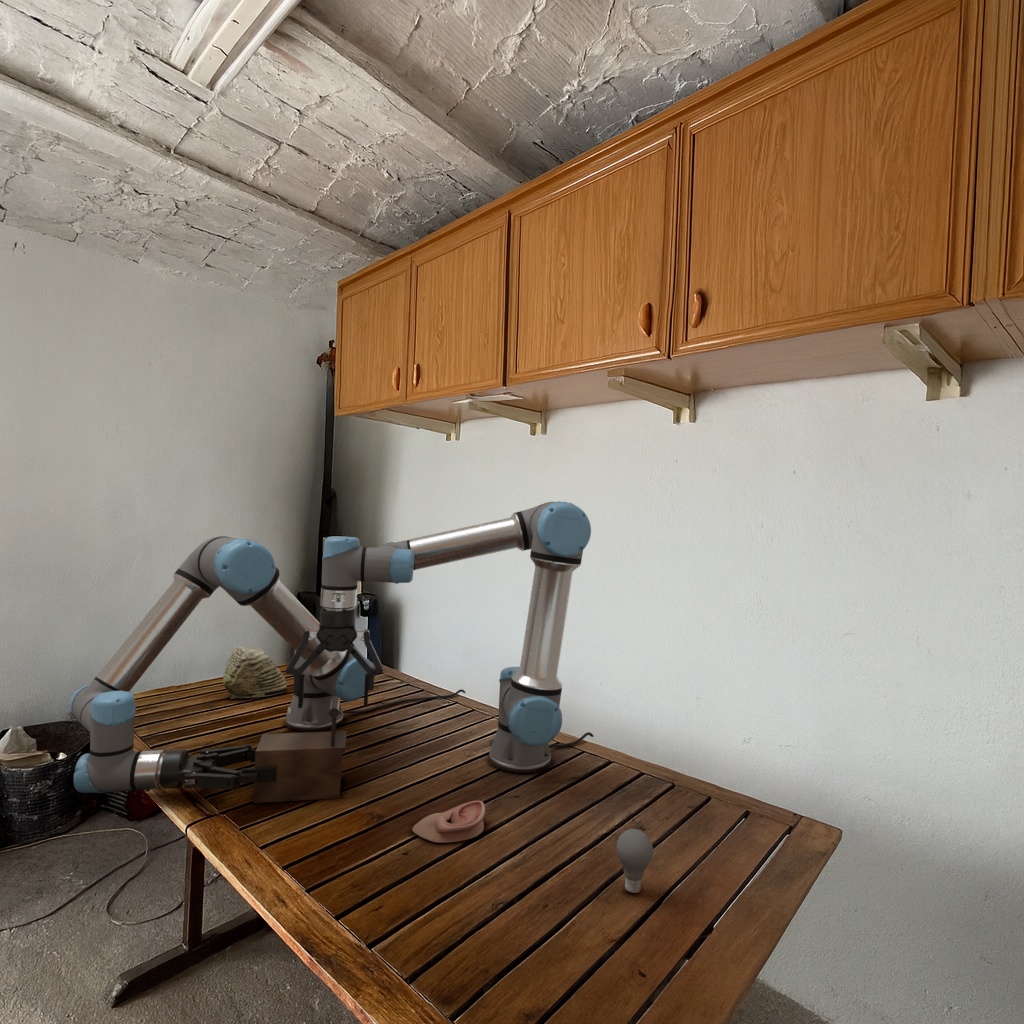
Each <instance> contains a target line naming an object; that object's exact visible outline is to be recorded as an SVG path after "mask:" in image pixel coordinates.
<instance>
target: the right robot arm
mask: <svg viewBox="0 0 1024 1024" xmlns="http://www.w3.org/2000/svg"><path fill="white" fill-rule="evenodd" d="M591 535H592V526H591V521H590V519H589V518H588V515H587V514H586V512H584V510H583V509H581V508H580V507H579V506H578V505H576V504H574V503H572V502H567V501H560V500H559V501H547V502H544V503H540V504H539V505H536V506H533V507H531V508H528V509H524V510H520V511H515V512H513V513H512V515H511V516H510V517H507V518H502V519H498V520H493V521H488V522H483V523H480V524H479V523H478V524H475V525H469V526H465V527H461V528H456V529H452V530H451V529H450V530H446V531H442V532H437V533H433V534H428V535H423V536H419V537H414V538H410V539H405V540H400V541H396V542H394V541H390V542H387V543H383V544H382V545H381V546H378V547H367V546H361V543H360V539H359V538H358V537H354V536H343V535H341V536H339V535H337V536H336V535H335V536H328V537H327V538H325V540H324V542H323V553H322V558H321V560H322V561H321V562H322V563H321V588H320V604H319V605H320V607H322V608H321V609H320V610H319V630H318V631H310V629H306V630H305V631H304V634H303V640H302V642H301V644H300V646H299V647H298V649H297V651H296V653H295V652H294V653H293V656H292V658H291V659H290V661H289V663H288V665H287V667H286V669H285V674H286V675H290V676H292V677H293V693H294V692H295V691H299V700H298V708H302V706H303V695H304V675H305V674H302V673H303V672H304V671H305V670H306V668H307V667H308V666H309V665H310V664H311V663H312V662H313V661H314V660H315V659H316V658H317V657H318V656H319V655H320V654H321V653H322V652H323V651H324V650H327V651H329V652H333V651H339V652H343V651H345V650H348V651H349V652H350V653H351V654H352V655H353V656H354V658H355V659H356V660H357V661H358V662H359V664H360V665H361V666H362V667H363V668H364V670H365V671H366V672H367V673H368V674H365V690H364V695H363V708H367V707H368V705H369V704H368V700H369V691H373V690H374V689H375V686H374V685H375V676H376V675H378V674H383V672H384V666H383V664H382V662H381V660H380V658H379V656H378V654H377V651H376V650H375V647H374V645H373V642H372V640H371V636H370V630H369V629H368V628H365V629H364V630H359V631H357V630H356V621H357V620H356V618H357V610H356V609H355V608H356V606H357V599H358V598H357V597H358V582H363V583H364V582H368V583H369V582H370V583H371V582H372V583H389V584H396V585H398V584H409V583H411V582H412V581H413V579H414V571H417V570H421V569H426V568H431V567H435V566H441V565H444V564H449V563H454V562H458V561H463V560H467V559H473V558H477V557H482V556H486V555H491V554H496V553H499V552H500V553H501V552H505V551H510V550H513V549H517V550H519V551H521V552H524V551H530V554H529V558H530V560H531V561H532V563H533V565H534V572H533V579H532V585H531V592H530V599H529V605H528V611H527V612H528V613H527V618H526V623H525V625H526V626H525V632H524V638H523V644H522V650H521V651H522V652H521V656H520V657H521V658H520V663H519V666H507V667H504V668H502V669H501V670H500V674H499V675H500V676H499V679H498V682H499V696H498V714H497V715H498V718H497V730H496V732H495V735H494V738H493V739H489V740H488V747H490V748H489V751H488V752H489V753H488V761H489V763H490V764H491V765H492V766H493V767H495V768H496V769H498V770H501V771H503V772H509V773H514V774H531V773H538V772H541V771H544V770H546V769H547V768H549V766H550V765H551V763H552V754H551V749H550V748H566V747H571V746H574V745H577V744H579V743H580V742H582V741H583V740H585V738H586V737H587V736H590V737H591V738H594V736H595V735H594V734H593V733H592V732H589V731H587V732H585V733H583V734H582V736H580V737H579V738H578V739H577V740H574V741H571V742H566V743H558V744H556V743H555V744H549V743H550V742H552V741H553V740H555V739H556V738H557V736H558V735H559V733H560V732H561V730H562V726H563V714H562V709H561V707H560V704H561V698H562V692H563V682H562V681H561V680H560V678H559V676H558V673H559V666H560V660H561V653H562V647H563V640H564V633H565V626H566V620H567V615H568V607H569V599H570V593H571V587H572V580H573V575H574V572H575V571H576V570H577V569H578V568H580V567H581V566H582V559H583V553H584V550H585V548H586V547H587V546H588V544H589V542H590V539H591ZM314 637H317V639H318V640H319V641H320V644H319V645H318V646H317V648H316V649H315V650H314V651H313V652H312V653H311V654H310V655H309V656H308V657H307V658H306V660H305V661H304V662H303V663H302V664H301V665H300V666H299V667H298V668H295V665H296V663H297V661H298V660H299V658H300V656H301V654H302V653H303V651H304V649H305V647H306V646H307V643H308V641H312V639H313V638H314ZM357 638H359V639H360V641H361V642H363V643H364V646H365V648H366V651H367V652H368V654H369V657H370V658H371V661H372V663H373V667H372V666H371V665H370V664H369V663H368V661H367V660H366V659H365V658H366V657H365V656H364V655H363V654H362V653H361V652H360V651H359V649H358V648H357V646H356V645H355V643H354V642H355V641H356V639H357ZM363 656H364V657H365V658H364V657H363Z"/></svg>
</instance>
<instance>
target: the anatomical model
mask: <svg viewBox="0 0 1024 1024" xmlns="http://www.w3.org/2000/svg"><path fill="white" fill-rule="evenodd" d="M485 816H486V806H485V803H484V802H483V801H482V800H472V801H468V802H466V803H462V804H459V805H457V806H454V807H452V808H450V809H448V810H446V811H442V812H436V813H432V814H429V815H427V816H425V817H424V818H421V820H419V821H418V822H417V823H416V824H414V825H413V826H412V829H411V831H412V832H413V834H415V835H416V836H418V837H420V838H421V839H424V840H426V841H429V842H432V843H436V844H437V843H438V844H446V843H455V842H462V841H466V840H470V839H473V838H476V837H478V836H479V835H480V834H482V833H483V831H484V829H485V823H484V818H485Z"/></svg>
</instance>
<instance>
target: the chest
mask: <svg viewBox="0 0 1024 1024" xmlns="http://www.w3.org/2000/svg"><path fill="white" fill-rule="evenodd" d="M342 766H343V753H323V754H300V755H277V756H256V757H255V762H254V768H264V767H276V781H274V782H256V783H254V784H253V804H263V803H265V804H266V803H279V802H297V801H299V802H300V801H313V800H314V801H315V800H316V801H317V800H329V799H340V798H341V797H340V796H341V787H342V768H343V767H342Z"/></svg>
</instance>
